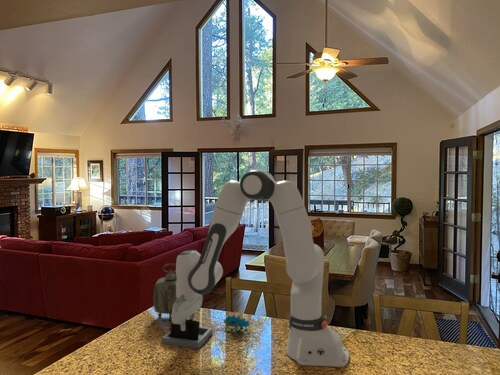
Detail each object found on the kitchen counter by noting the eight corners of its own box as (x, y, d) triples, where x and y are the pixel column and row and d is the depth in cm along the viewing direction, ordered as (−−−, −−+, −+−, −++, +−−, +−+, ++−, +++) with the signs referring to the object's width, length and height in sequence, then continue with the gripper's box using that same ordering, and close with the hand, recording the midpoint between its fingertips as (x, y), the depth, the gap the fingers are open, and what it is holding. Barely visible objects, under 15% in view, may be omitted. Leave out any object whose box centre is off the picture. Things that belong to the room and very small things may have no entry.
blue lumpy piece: (253, 325, 158) (243, 314, 151) (250, 339, 154) (240, 328, 148) (230, 324, 163) (220, 313, 156) (227, 337, 159) (216, 327, 152)
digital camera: (200, 339, 148) (201, 320, 148) (192, 342, 143) (194, 324, 143) (178, 334, 152) (179, 316, 152) (170, 337, 147) (171, 319, 147)
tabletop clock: (188, 314, 173) (187, 260, 172) (186, 322, 164) (185, 266, 163) (156, 315, 172) (155, 261, 171) (152, 323, 163) (151, 266, 162)
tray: (212, 334, 153) (212, 328, 153) (198, 349, 140) (198, 342, 140) (178, 329, 157) (178, 323, 157) (161, 343, 144) (161, 337, 144)
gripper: (182, 301, 137) (183, 338, 137) (205, 284, 156) (205, 317, 157) (167, 299, 138) (167, 336, 139) (191, 283, 158) (191, 315, 159)
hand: (187, 326), depth 148 cm, fingers open, 5 cm apart
